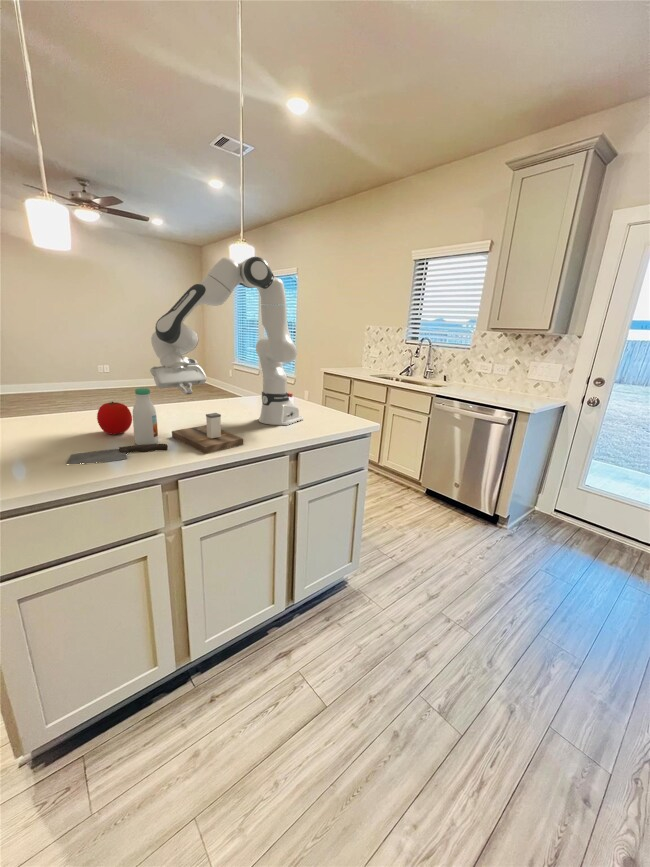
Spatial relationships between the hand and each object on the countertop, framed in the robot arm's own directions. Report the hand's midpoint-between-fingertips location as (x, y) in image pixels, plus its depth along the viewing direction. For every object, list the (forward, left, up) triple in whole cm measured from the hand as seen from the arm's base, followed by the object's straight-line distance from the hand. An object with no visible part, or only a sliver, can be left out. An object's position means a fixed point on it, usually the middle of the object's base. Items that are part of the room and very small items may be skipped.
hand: (188, 393), depth 139 cm
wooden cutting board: (0, +12, -16) cm, 21 cm away
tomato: (+22, -17, -17) cm, 32 cm away
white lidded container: (0, +17, -13) cm, 22 cm away
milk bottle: (+18, +1, -17) cm, 25 cm away
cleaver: (+30, +8, -17) cm, 35 cm away
